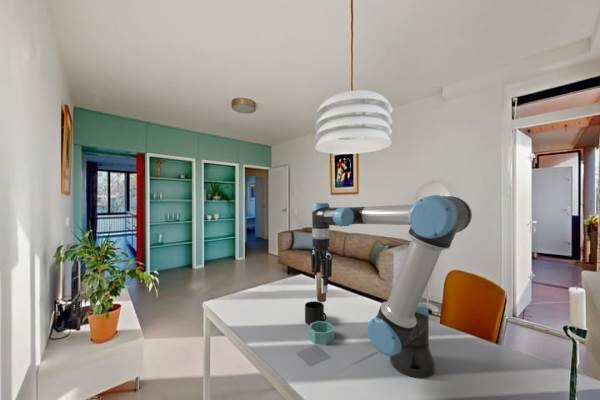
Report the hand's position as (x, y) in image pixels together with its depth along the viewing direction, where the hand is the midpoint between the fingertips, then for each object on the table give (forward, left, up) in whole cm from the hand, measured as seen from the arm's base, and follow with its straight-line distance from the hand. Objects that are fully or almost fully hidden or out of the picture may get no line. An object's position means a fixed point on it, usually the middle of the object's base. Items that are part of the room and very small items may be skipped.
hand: (321, 291), depth 111 cm
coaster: (-8, +11, -21) cm, 25 cm away
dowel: (0, 0, -4) cm, 4 cm away
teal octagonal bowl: (0, 0, -21) cm, 21 cm away
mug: (+13, -7, -22) cm, 26 cm away
